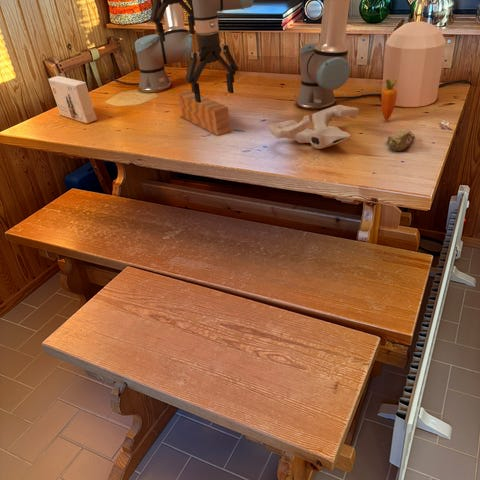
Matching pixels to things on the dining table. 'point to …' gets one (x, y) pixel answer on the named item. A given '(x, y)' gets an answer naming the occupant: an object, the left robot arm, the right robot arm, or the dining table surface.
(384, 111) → the carrot
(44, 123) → the dining table surface
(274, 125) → the cream branched piece
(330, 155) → the dining table surface
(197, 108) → the bar
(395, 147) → the rock
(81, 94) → the skincare box
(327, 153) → the dining table surface
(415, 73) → the container
